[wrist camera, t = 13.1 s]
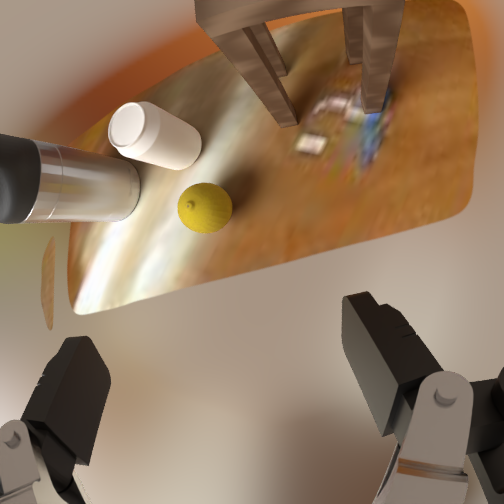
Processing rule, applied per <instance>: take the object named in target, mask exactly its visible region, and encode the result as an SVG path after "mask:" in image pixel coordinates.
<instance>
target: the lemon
mask: <svg viewBox="0 0 504 504" xmlns="http://www.w3.org/2000/svg"><path fill="white" fill-rule="evenodd" d="M178 214H179V217H180V219H181V221H182V222H183V224H184V225H185V226H186V227H188V228H189V229H191V230H193V231H195V232H199V233H212V232H216V231H218V230H220V229H221V228H223V227H224V226H225V225H226V224H227V223H228V221H229V220H230V217H231V214H232V201H231V199H230V197H229V195H228V194H227V193H226V191H225V190H223V189H222V188H221V187H219V186H217V185H215V184H212V183H199V184H195V185H193V186H191V187H189V188H187V189H186V190H185V191H184V192H183V193H182V195H181V196H180V199H179V201H178Z"/></svg>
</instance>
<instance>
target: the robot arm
mask: <svg viewBox="0 0 504 504" xmlns="http://www.w3.org/2000/svg"><path fill="white" fill-rule="evenodd" d="M139 193H140V180H139V176H138V173H137V170H136V169H135V167H134V166H133V165H132V164H131V163H130V162H128V161H126V160H122V159H118V158H113V157H109V156H106V155H101V154H97V153H93V152H88V151H84V150H79V149H75V148H70V147H66V146H61V145H56V144H51V143H46V142H41V141H36V140H30V139H25V138H19V137H14V136H9V135H4V134H0V223H5V224H13V223H39V222H40V223H42V222H117V221H121V220H123V219H125V218H126V217H127V216H129V215H130V214H131V212H132V211H133V210H134V208H135V206H136V204H137V201H138V198H139ZM342 344H343V348H344V352H345V355H346V357H347V359H348V361H349V363H350V366H351V368H352V370H353V372H354V374H355V377H356V379H357V381H358V383H359V386H360V388H361V390H362V392H363V395H364V397H365V399H366V401H367V404H368V406H369V408H370V411H371V413H372V415H373V417H374V419H375V422H376V424H377V427H378V429H379V431H380V434H381V436H382V437H384V436H387V435H389V434H392V433H394V434H395V437H396V439H397V441H398V442H397V445H396V447H395V450H394V453H393V456H392V459H391V461H390V464H389V466H388V469H387V471H386V474H385V477H384V479H383V481H382V484H381V486H380V488H379V491H378V493H377V495H376V497H375V499H374V502H373V504H464V500H465V496H466V492H467V488H468V475H467V474H466V473H464V472H463V465H464V460H465V455H468V456H469V458H470V461H471V463H472V465H473V467H474V470H475V472H476V474H477V477H478V479H479V481H480V484H481V486H482V489H483V491H484V494H485V496H486V499H487V501H488V504H504V367H503V369H502V370H501V372H500V374H499V376H498V378H495V379H489V380H483V381H476V382H468V381H467V380H466V379H465V378H464V377H463V376H461V375H459V374H457V373H455V372H450V371H444V370H443V369H442V368H441V366H440V365H439V363H438V362H437V361H436V359H435V358H434V356H433V355H432V354H431V352H430V351H429V349H428V348H427V347H426V345H425V344H424V343H423V341H422V340H421V339H420V337H419V336H418V335H416V332H415V331H414V329H413V328H412V327H411V326H409V323H408V321H407V320H406V319H405V317H404V316H403V315H402V314H401V312H400V311H398V310H396V309H395V308H393V307H391V306H390V305H388V304H383V305H378V304H377V302H376V301H375V299H374V298H373V297H372V296H371V294H370V293H369V292H367V291H366V292H361V293H357V294H353V295H348V296H344V297H343V300H342ZM37 385H38V386H36V387H35V389H34V391H33V394H32V396H31V398H30V400H29V402H28V404H27V406H26V409H25V411H24V413H23V415H22V417H21V419H20V420H11V421H9V422H7V423H6V424H4V425H3V426H2V427H1V428H0V504H92V503H91V501H90V499H89V497H88V495H87V493H86V491H85V489H84V487H83V485H82V482H81V480H80V478H79V476H78V474H77V473H76V472H75V471H74V466H75V464H79V465H87V466H89V463H90V458H91V455H92V450H93V446H94V442H95V438H96V435H97V431H98V427H99V424H100V420H101V416H102V413H103V410H104V406H105V403H106V399H107V396H108V392H109V389H110V385H111V377H110V373H109V370H108V368H107V367H106V365H105V363H104V361H103V360H102V358H101V356H100V354H99V353H98V351H97V349H96V347H95V345H94V344H93V342H92V340H91V339H90V338H89V337H88V336H79V337H69V338H66V339H65V341H64V342H63V344H62V346H61V348H60V350H59V352H58V353H57V354H56V355H55V356H54V357H53V358H52V359H51V360H50V361H49V362H48V364H47V366H46V368H45V369H44V371H43V373H42V377H41V378H40V379H39V381H38V383H37Z"/></svg>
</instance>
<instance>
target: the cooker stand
mask: <svg viewBox="0 0 504 504" xmlns="http://www.w3.org/2000/svg"><path fill="white" fill-rule="evenodd" d="M194 1H195V12H196V22H197V23H198V24H199V26H200V27H201V28H202V29H203V30H204V31H205V32H206V33H207V35H208V36H209V37H210V38H211V39H212V40H213V41H214V43H215V44H216V45H217V46H218V47H219V49H220V50H221V51H222V52H223V53H224V55H225V56H226V57H227V58H228V59H229V61H230V62H231V63H232V64H233V65H234V67H235V68H236V69H237V70H238V72H239V73H240V74H241V75H242V77H243V78H244V79H245V80H246V82H247V83H248V84H249V86H250V87H251V88H252V89H253V91H254V92H255V93H256V95H257V96H258V97H259V99H260V100H261V101H262V102H263V104H264V105H265V106H266V108H267V109H268V111H269V112H270V113H271V115H272V116H273V117H274V119H275V120H276V121H277V123H278V124H279V126H280V127H281V128H284V127H289V126H294V125H298V123H297V118H296V113H295V109H294V107H293V105H292V103H291V101H290V99H289V97H288V95H287V93H286V91H285V89H284V88H283V86H282V84H281V82H280V80H279V78H278V77H282V76H287V72H286V68H285V64H284V61H283V59H282V57H281V55H280V52H279V50H278V48H277V46H276V44H275V42H274V40H273V38H272V36H271V34H270V32H269V30H268V28H267V26H266V24H265V22H267V21H271V20H276V19H280V18H285V17H289V16H294V15H299V14H305V13H311V12H316V11H323V10H330V9H337V8H342V11H343V21H344V32H345V44H346V53H347V56H348V59H349V62H350V65H351V64H359V63H362V84H361V103H362V106H363V110H364V114H371V113H380V112H381V110H382V106H383V102H384V98H385V94H386V90H387V86H388V82H389V78H390V74H391V69H392V65H393V60H394V56H395V51H396V46H397V42H398V37H399V31H400V26H401V21H402V15H403V10H404V4H405V0H194Z"/></svg>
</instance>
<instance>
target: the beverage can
mask: <svg viewBox="0 0 504 504" xmlns="http://www.w3.org/2000/svg"><path fill="white" fill-rule="evenodd" d="M108 136H109V140H110V142H111V144H112V145H113V146H114V147H116V148H117V150H118V151H119V153H120V154H122V155H123V156H125V157H128V158H132V159H136V160H139V161H143V162H147V163H151V164H154V165H158V166H161V167H165V168H169V169H173V170H182V169H185V168H187V167H189V166H190V165H192V164H193V163H194V162H195V160H196V159H197V158H198V156H199V154H200V151H201V145H202V142H201V137H200V134H199V132H198V131H197V130H196V129H195V128H194V127H192V126H191V125H189V124H188V123H186V122H184V121H182V120H181V119H179V118H177V117H175V116H174V115H172V114H170V113H168V112H166V111H165V110H163V109H161V108H159V107H157V106H156V105H154V104H152V103H150V102H138V103H134V102H130V103H127V104H124V105H123V106H121V107H120V108H119V109H118V110H117V111H116V112H115V113H114V115H113V117H112V119H111V121H110V124H109V128H108Z"/></svg>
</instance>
